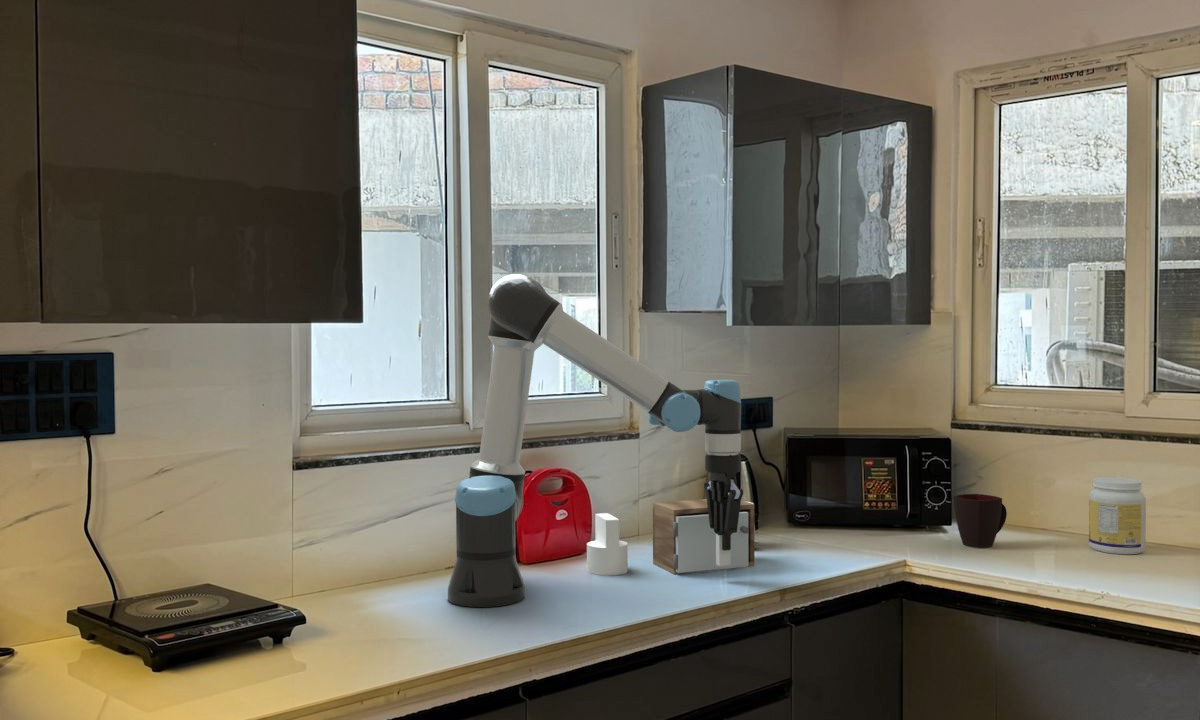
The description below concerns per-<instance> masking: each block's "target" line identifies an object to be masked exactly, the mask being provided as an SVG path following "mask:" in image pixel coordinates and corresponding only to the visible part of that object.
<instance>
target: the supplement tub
mask: <svg viewBox="0 0 1200 720" xmlns="http://www.w3.org/2000/svg"><path fill="white" fill-rule="evenodd" d="M1092 482H1093V483H1092V487H1093V489H1091V491H1090V492H1089V495H1088V501H1089V502H1088V544H1089V547H1090V548H1091V549H1092V550H1095V551H1097V552H1102V553H1106V554H1111V555H1112V554H1113V555H1137V554H1142V553H1143V552H1144V551H1145V550H1146V513H1147V512H1146V511H1147V510H1146V503H1147V502H1146V495H1145V494H1144V493H1143V492H1142V491H1141V490H1142V489H1143V486H1142V480H1140V479H1135V478H1129V477H1115V476H1114V477H1113V476H1112V477H1110V476H1109V477H1108V476H1106V477H1105V476H1104V477H1103V476H1102V477H1095V478H1093V479H1092Z"/></svg>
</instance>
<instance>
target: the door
mask: <svg viewBox="0 0 1200 720" xmlns="http://www.w3.org/2000/svg"><path fill="white" fill-rule="evenodd" d="M748 532H749V528H748V512H739V519H738V527H737V532H736V533H732V534H731V565H724V566H718V565H716V533H715V532H714V529H713V528H712V529H711V528H710V523H709V514H707V515H692V516H678V517H676V522H673V536H675V537H676V554H673V568H674V569H676V572H677V573H682V574H684V573H683V572H693V573H695V572H694V571H703V572H706V571H705V570H713V571H718V570H717V569H723V570H729V569H728V568H733V569H740V568H739V567H743V568H749V567H748Z"/></svg>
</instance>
